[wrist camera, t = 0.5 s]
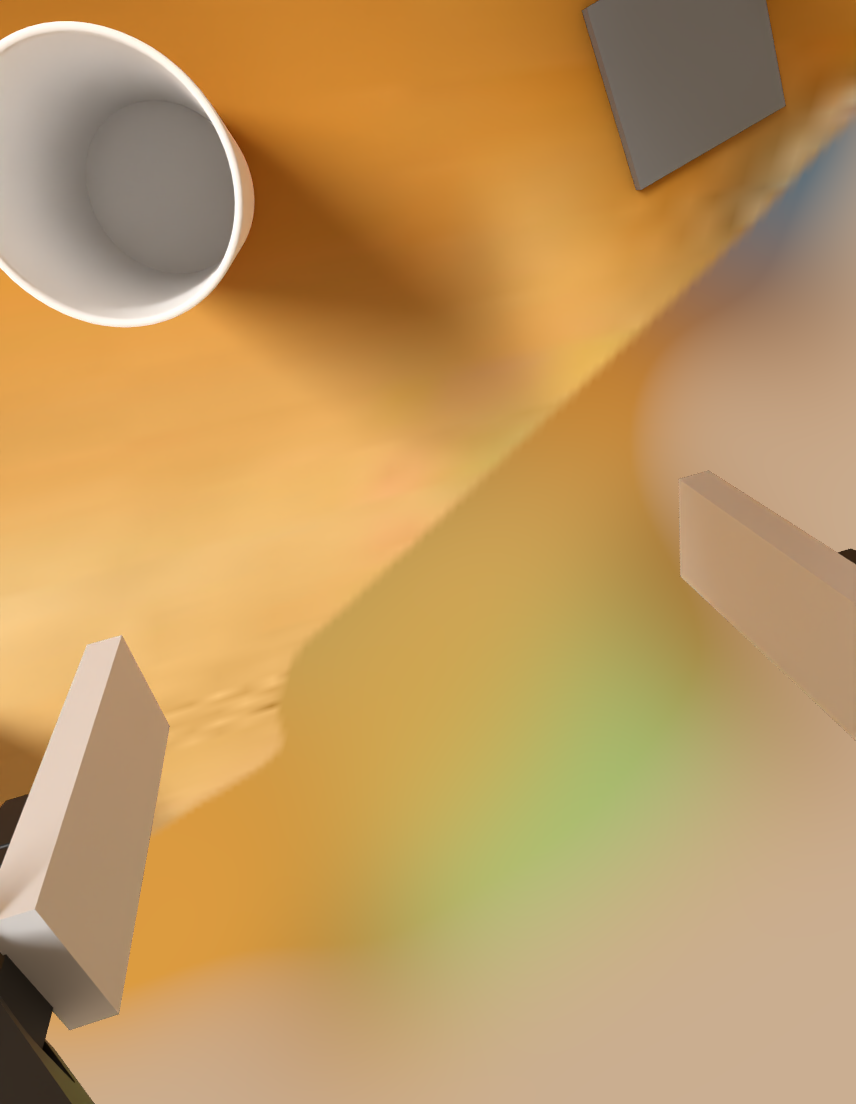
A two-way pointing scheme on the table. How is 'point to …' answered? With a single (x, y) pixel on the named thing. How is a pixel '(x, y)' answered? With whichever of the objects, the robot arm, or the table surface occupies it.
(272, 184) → the table surface
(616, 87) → the mat
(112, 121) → the cup
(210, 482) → the table surface
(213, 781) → the table surface
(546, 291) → the table surface
